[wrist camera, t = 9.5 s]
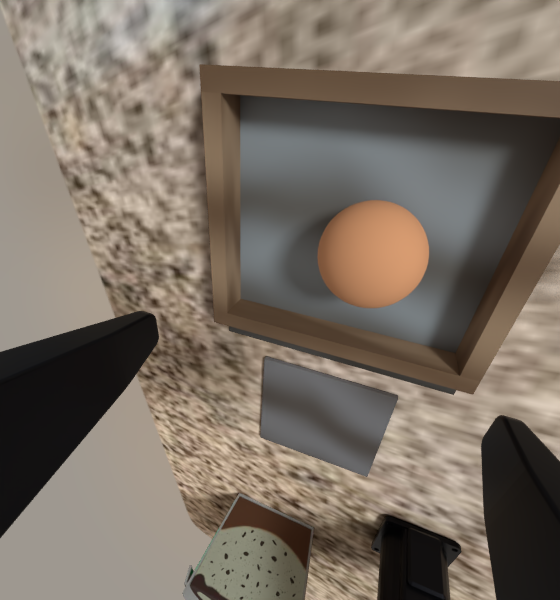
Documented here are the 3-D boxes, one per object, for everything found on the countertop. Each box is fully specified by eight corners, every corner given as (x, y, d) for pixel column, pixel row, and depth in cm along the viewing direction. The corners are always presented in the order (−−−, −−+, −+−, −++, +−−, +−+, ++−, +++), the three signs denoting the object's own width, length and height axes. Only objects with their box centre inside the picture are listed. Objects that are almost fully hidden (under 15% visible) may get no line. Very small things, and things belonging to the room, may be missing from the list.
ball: (388, 278, 18) (428, 330, 14) (305, 276, 18) (321, 329, 14) (413, 191, 16) (472, 223, 12) (316, 185, 15) (340, 217, 11)
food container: (226, 510, 41) (180, 609, 33) (227, 487, 37) (177, 590, 29) (316, 554, 38) (291, 673, 30) (327, 533, 35) (301, 661, 27)
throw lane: (403, 486, 26) (402, 516, 25) (233, 424, 30) (221, 445, 29) (610, 90, 12) (650, 85, 10) (225, 70, 16) (199, 64, 14)
